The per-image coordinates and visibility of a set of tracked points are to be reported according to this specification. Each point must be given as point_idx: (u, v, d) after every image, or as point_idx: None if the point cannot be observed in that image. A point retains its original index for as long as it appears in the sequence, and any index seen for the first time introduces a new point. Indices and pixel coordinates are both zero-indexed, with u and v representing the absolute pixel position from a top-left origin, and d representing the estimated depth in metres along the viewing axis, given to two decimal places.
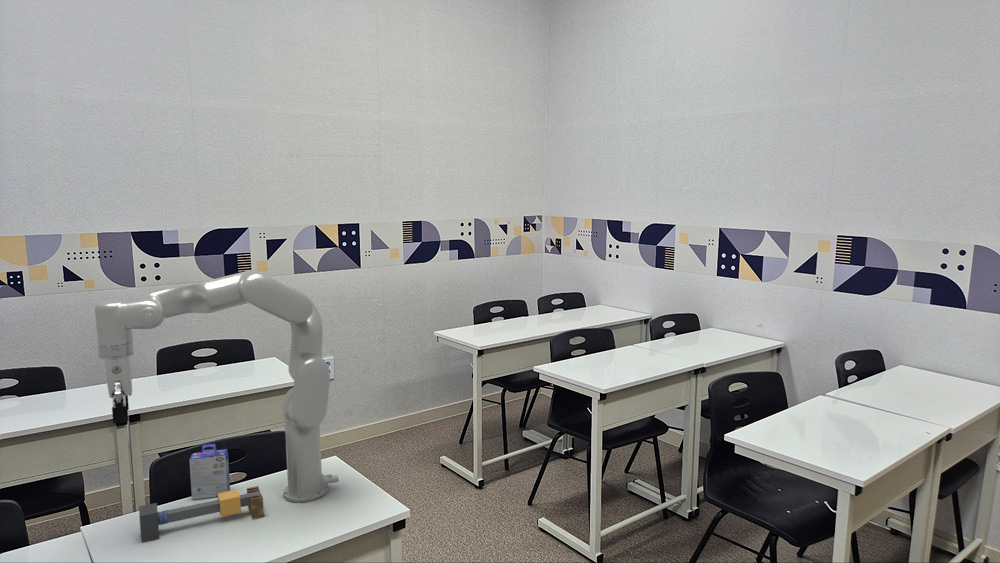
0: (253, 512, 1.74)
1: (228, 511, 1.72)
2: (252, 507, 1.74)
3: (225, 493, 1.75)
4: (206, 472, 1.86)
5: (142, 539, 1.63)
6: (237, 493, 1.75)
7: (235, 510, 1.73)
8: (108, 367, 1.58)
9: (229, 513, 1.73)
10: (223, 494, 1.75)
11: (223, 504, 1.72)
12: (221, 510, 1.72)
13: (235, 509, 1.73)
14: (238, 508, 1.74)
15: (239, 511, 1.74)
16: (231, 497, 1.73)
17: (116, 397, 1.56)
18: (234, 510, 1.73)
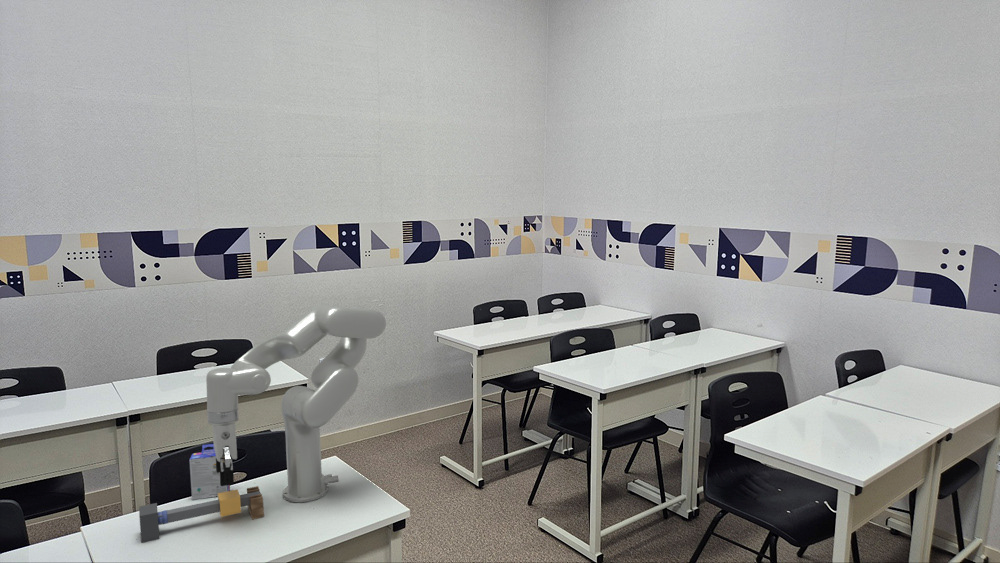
0: (253, 512, 1.74)
1: (228, 511, 1.72)
2: (252, 507, 1.74)
3: (225, 493, 1.75)
4: (206, 472, 1.86)
5: (142, 539, 1.63)
6: (237, 493, 1.75)
7: (235, 510, 1.73)
8: (218, 433, 1.67)
9: (229, 513, 1.73)
10: (223, 494, 1.75)
11: (223, 504, 1.72)
12: (221, 510, 1.72)
13: (235, 509, 1.73)
14: (238, 508, 1.74)
15: (239, 511, 1.74)
16: (231, 497, 1.73)
17: (226, 462, 1.65)
18: (234, 510, 1.73)
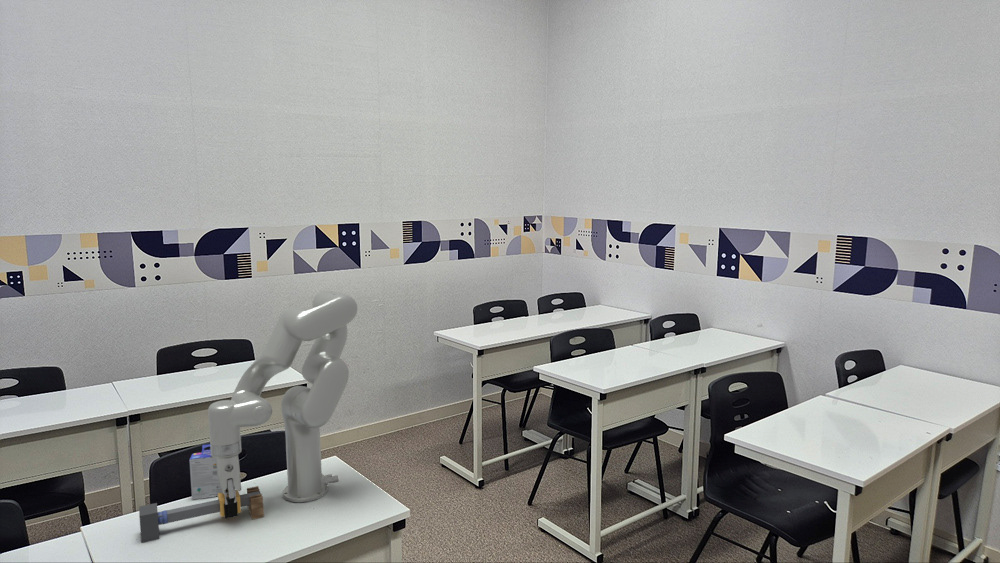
0: (253, 512, 1.74)
1: None
2: (252, 507, 1.74)
3: None
4: (206, 472, 1.86)
5: (142, 539, 1.63)
6: (237, 493, 1.75)
7: None
8: (221, 466, 1.69)
9: None
10: (223, 494, 1.75)
11: (223, 504, 1.72)
12: (221, 510, 1.72)
13: None
14: (238, 508, 1.74)
15: (239, 511, 1.74)
16: None
17: (230, 499, 1.68)
18: None
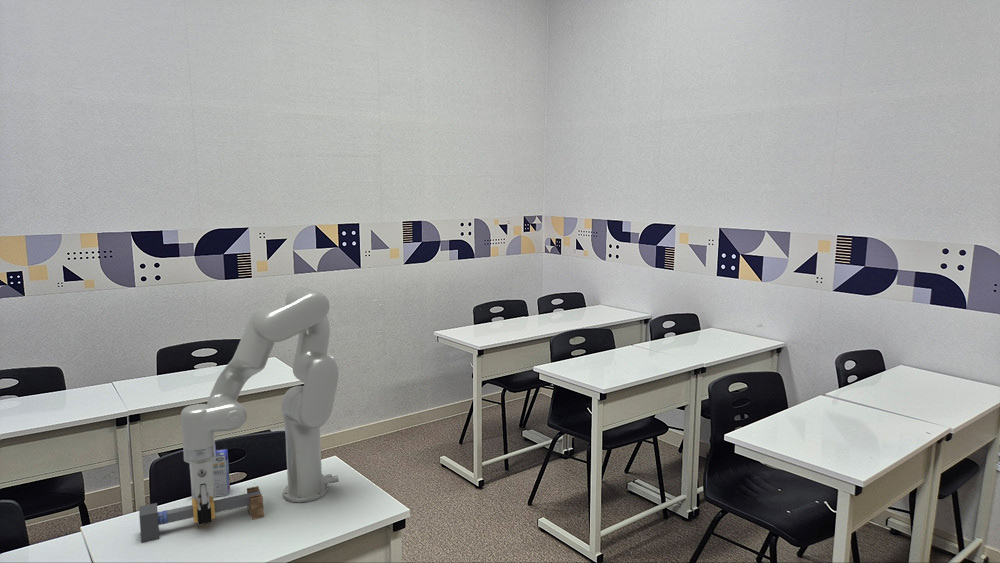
0: (253, 512, 1.74)
1: None
2: (252, 507, 1.74)
3: None
4: None
5: (142, 539, 1.63)
6: (211, 498, 1.72)
7: None
8: (194, 471, 1.65)
9: None
10: None
11: (196, 510, 1.68)
12: (194, 516, 1.68)
13: None
14: (212, 514, 1.70)
15: (213, 517, 1.71)
16: None
17: (203, 504, 1.65)
18: None
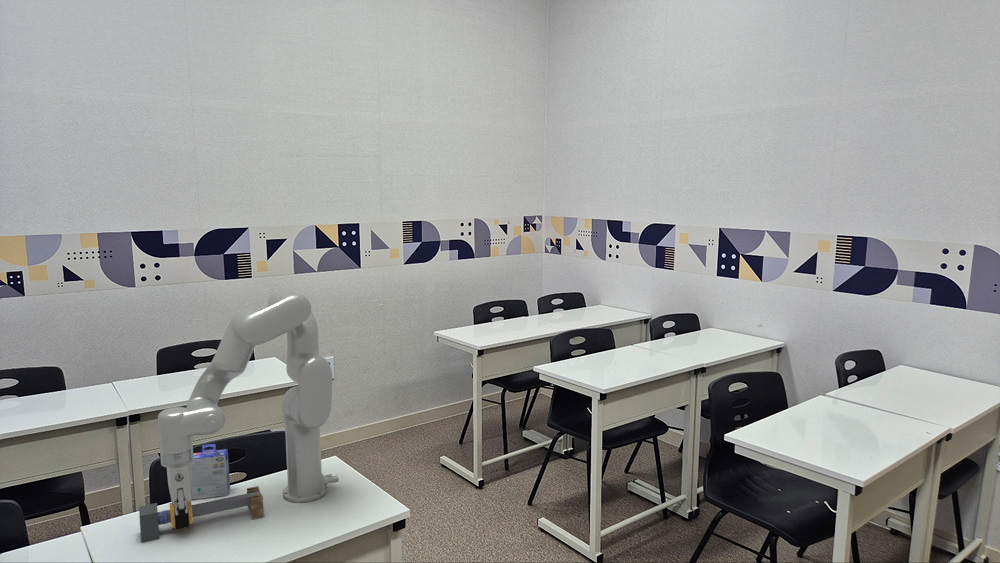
0: (253, 512, 1.74)
1: None
2: (252, 507, 1.74)
3: None
4: (206, 472, 1.86)
5: (142, 539, 1.63)
6: (189, 503, 1.70)
7: None
8: (171, 475, 1.63)
9: None
10: None
11: (173, 515, 1.66)
12: (172, 521, 1.66)
13: None
14: (190, 519, 1.68)
15: (191, 522, 1.68)
16: None
17: (180, 509, 1.63)
18: None
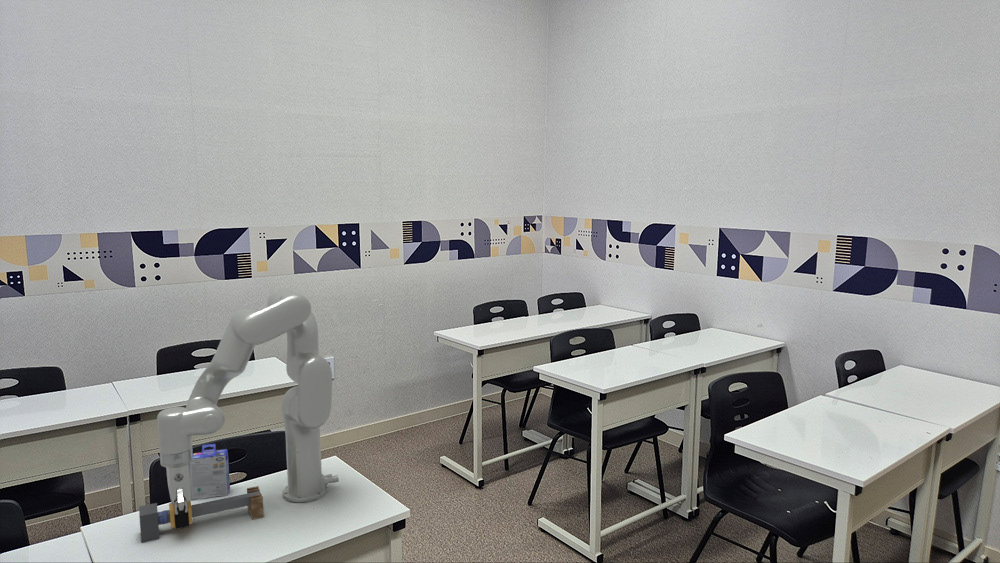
0: (253, 512, 1.74)
1: None
2: (252, 507, 1.74)
3: None
4: (206, 472, 1.86)
5: (142, 539, 1.63)
6: (189, 503, 1.70)
7: None
8: (170, 475, 1.63)
9: None
10: None
11: (173, 515, 1.66)
12: (171, 521, 1.66)
13: None
14: (189, 519, 1.68)
15: (190, 522, 1.68)
16: None
17: (179, 505, 1.61)
18: None
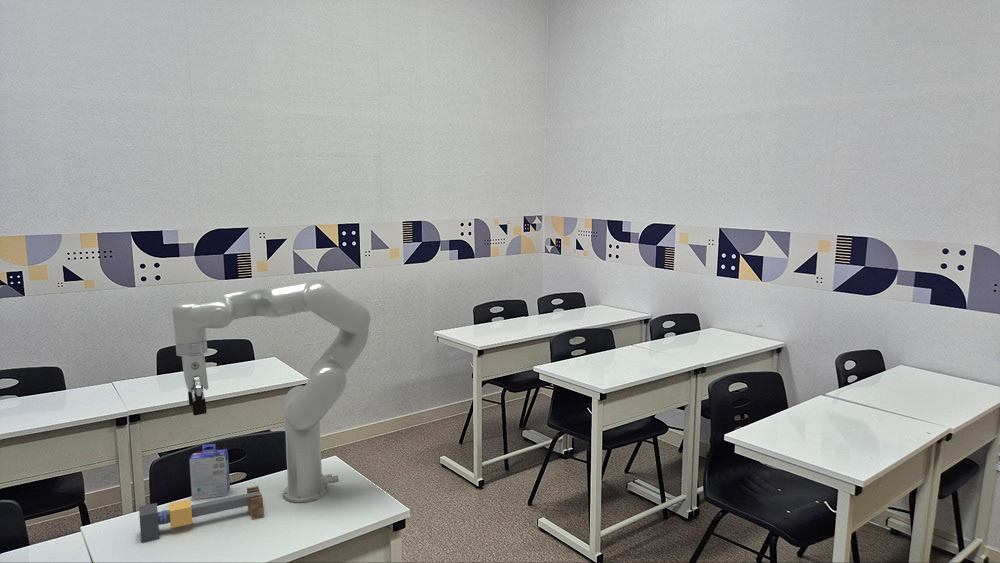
0: (253, 512, 1.74)
1: (178, 522, 1.67)
2: (252, 507, 1.74)
3: (176, 503, 1.70)
4: (206, 472, 1.86)
5: (142, 539, 1.63)
6: (189, 503, 1.70)
7: (186, 521, 1.68)
8: (187, 363, 1.70)
9: (180, 524, 1.67)
10: (174, 504, 1.69)
11: (173, 515, 1.66)
12: (171, 521, 1.66)
13: (186, 520, 1.68)
14: (189, 519, 1.68)
15: (190, 522, 1.68)
16: (182, 507, 1.67)
17: (197, 391, 1.69)
18: (185, 521, 1.67)
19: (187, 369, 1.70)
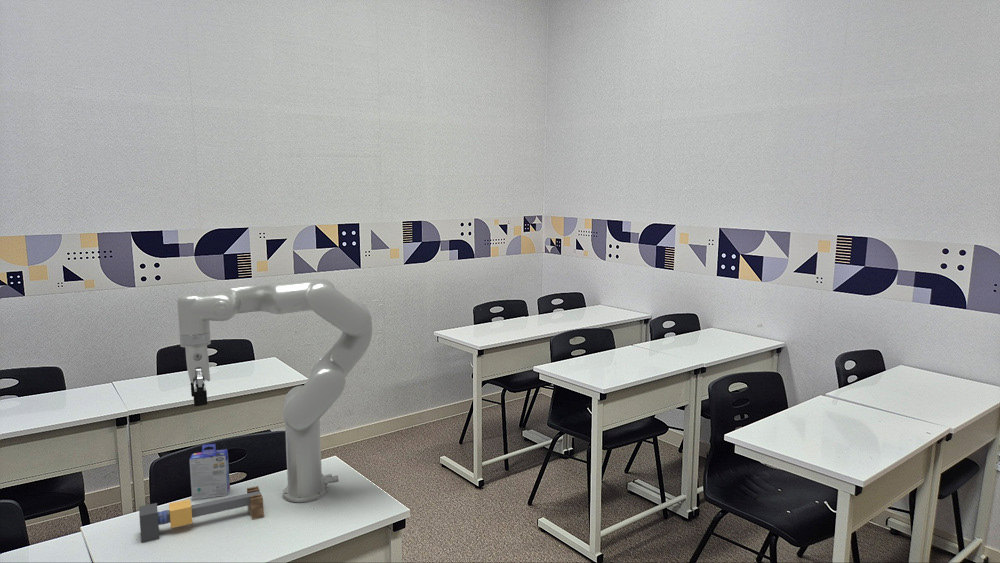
0: (253, 512, 1.74)
1: (178, 522, 1.67)
2: (252, 507, 1.74)
3: (176, 503, 1.70)
4: (206, 472, 1.86)
5: (142, 539, 1.63)
6: (189, 503, 1.70)
7: (186, 521, 1.68)
8: (190, 354, 1.72)
9: (180, 524, 1.67)
10: (174, 504, 1.69)
11: (173, 515, 1.66)
12: (171, 521, 1.66)
13: (186, 520, 1.68)
14: (189, 519, 1.68)
15: (190, 522, 1.68)
16: (182, 507, 1.67)
17: (198, 382, 1.70)
18: (185, 521, 1.67)
19: (189, 360, 1.72)
